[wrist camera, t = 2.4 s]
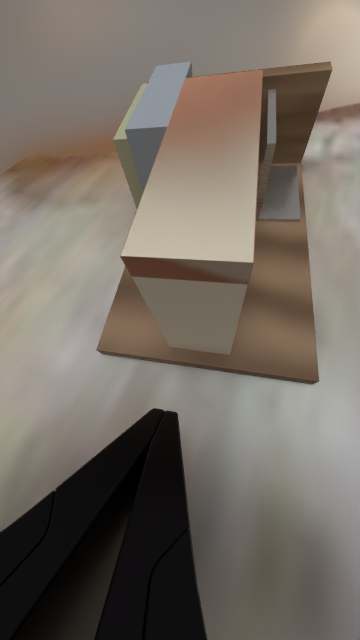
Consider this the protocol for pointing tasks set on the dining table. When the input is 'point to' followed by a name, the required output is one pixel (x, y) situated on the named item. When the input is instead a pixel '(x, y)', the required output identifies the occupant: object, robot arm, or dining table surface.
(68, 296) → the dining table surface
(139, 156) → the small books
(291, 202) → the bookend
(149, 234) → the boxed book
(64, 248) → the dining table surface
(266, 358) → the shelf
